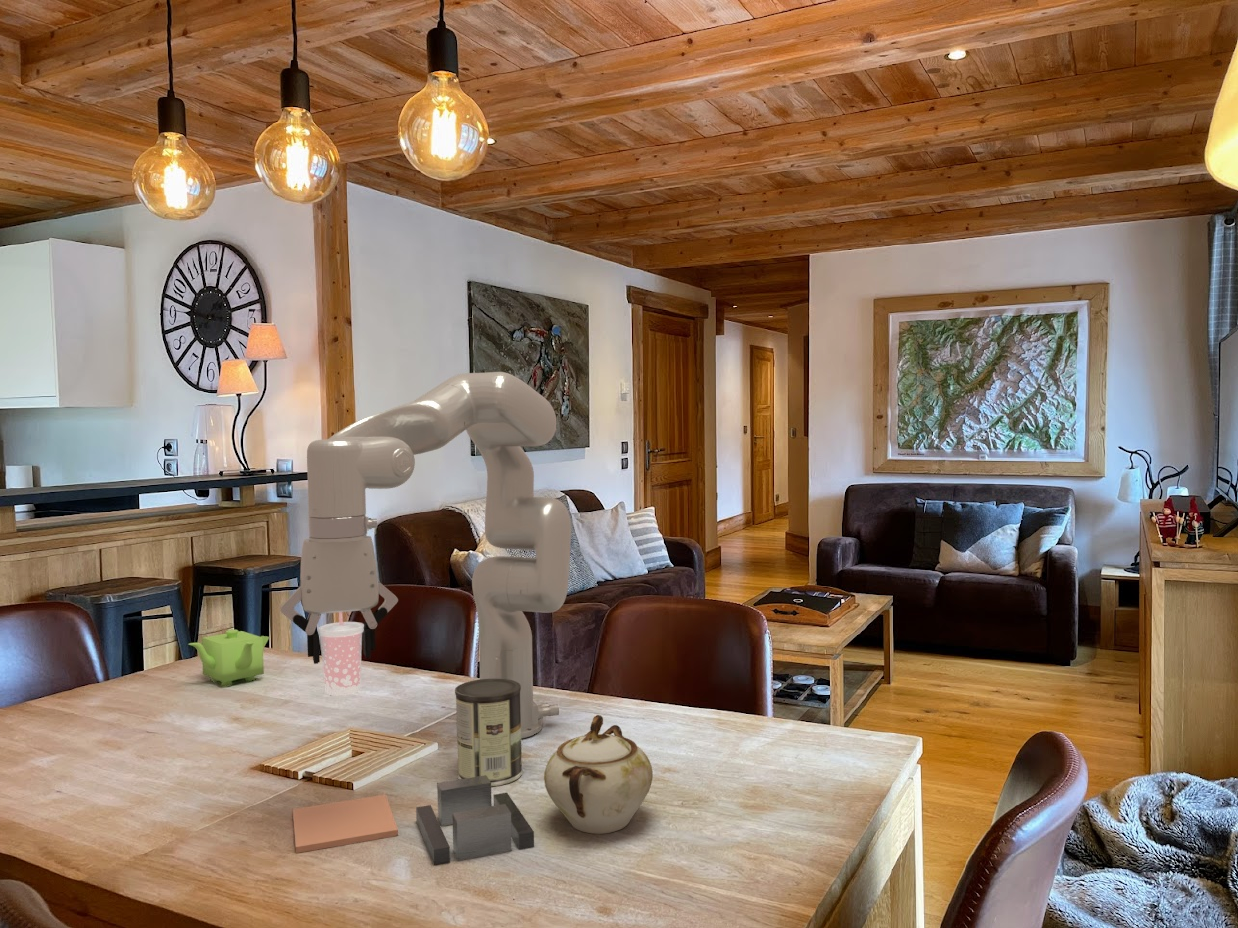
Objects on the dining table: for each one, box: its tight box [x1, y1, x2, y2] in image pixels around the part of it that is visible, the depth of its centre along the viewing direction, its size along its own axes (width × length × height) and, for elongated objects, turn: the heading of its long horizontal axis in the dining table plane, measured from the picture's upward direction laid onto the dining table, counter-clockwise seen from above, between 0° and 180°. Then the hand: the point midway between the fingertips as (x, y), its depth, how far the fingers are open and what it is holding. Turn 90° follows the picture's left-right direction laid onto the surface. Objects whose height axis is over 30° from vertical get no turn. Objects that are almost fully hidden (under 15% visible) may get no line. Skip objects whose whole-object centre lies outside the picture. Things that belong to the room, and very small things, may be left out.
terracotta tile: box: [292, 794, 399, 854], centre depth 126 cm, size 13×13×1 cm
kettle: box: [187, 629, 270, 687], centre depth 203 cm, size 15×14×11 cm
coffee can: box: [454, 678, 524, 787], centre depth 144 cm, size 10×10×14 cm
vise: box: [415, 775, 535, 866], centre depth 123 cm, size 13×14×5 cm
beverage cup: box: [317, 612, 364, 697], centre depth 126 cm, size 6×6×14 cm
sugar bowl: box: [543, 714, 654, 835], centre depth 126 cm, size 20×15×15 cm
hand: (341, 657), depth 126 cm, fingers closed on beverage cup, 6 cm apart
